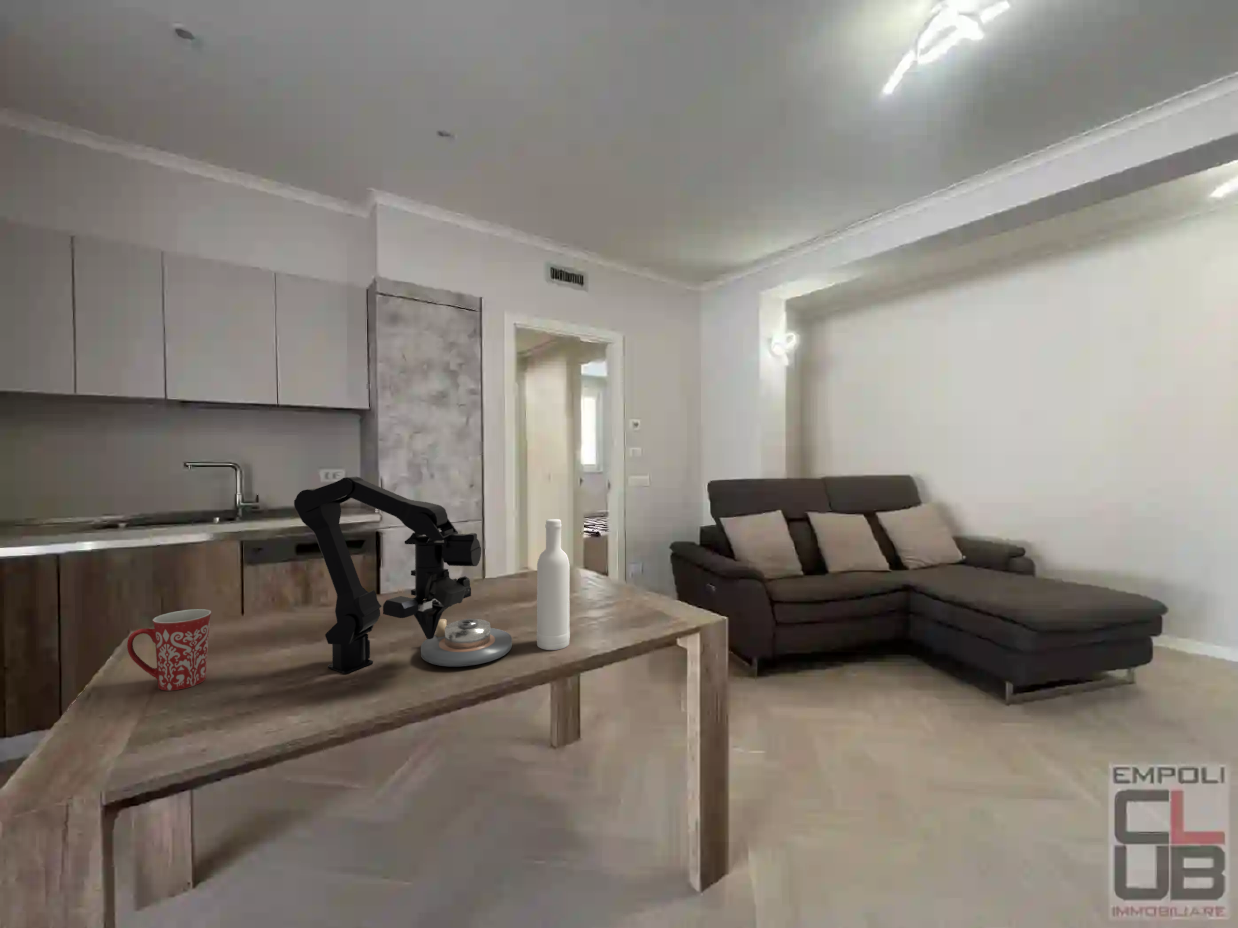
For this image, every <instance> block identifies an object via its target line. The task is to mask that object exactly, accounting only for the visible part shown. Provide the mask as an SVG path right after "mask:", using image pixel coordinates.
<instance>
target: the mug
mask: <svg viewBox="0 0 1238 928" xmlns="http://www.w3.org/2000/svg"><path fill="white" fill-rule="evenodd" d="M211 615H212V610H211V609H204V608H202V609H201V608H199V609H197V608H195V609H194V608H193V609H182V610H177V611H172V612H167V613H163V614H160V615H157V616H156V617H154V618H152V623H153V625H154V628H148V627H147V628H145V627H144V628H139V629H137V630H134V631H133V632H132V633H131V634H130V635H129V637H128V639H127V643H126V646H127V647H126V649H127V653H128V655H129V656H130V658H131V660H132V661H133V662H134V663H136V665H138V666H139V667H140V668H141V669H142V670H143V671H144V672H146V673H148V674H149V675H150V676H152V677H153V678H155V679H156V680H157V687H158V689H159V690H161V691H167V692H169V691H177V690H178V691H179V690H184V689H187V688H191V687H195V686H197V685H199V684H201V683H202V682H204V681H205V680H206V679H207V678H206V677H207V664H208V653H209V652H208V651H209V638H210V622H211V621H210V619H211ZM143 634H145V635H148V636H149V637H150V638H151V640H152V642H153V644H155V657H156V667H152V666H151V665H149V664H147V662H145V661H144V660H142V659H141V658H140V656H139V655H138V654H137V653H136V652H135V650H134V640H135V638H136V637H137V636H139V635H143Z"/></svg>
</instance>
